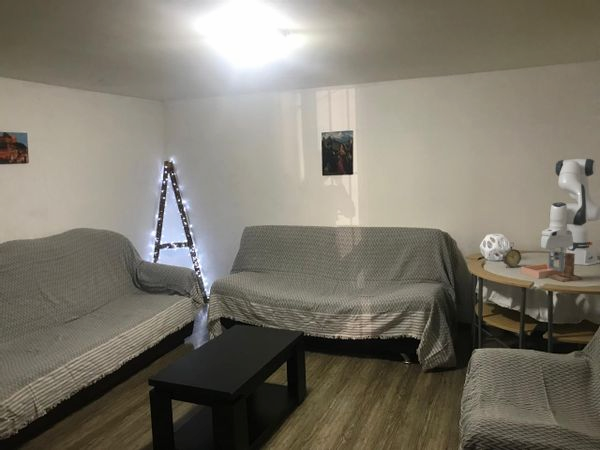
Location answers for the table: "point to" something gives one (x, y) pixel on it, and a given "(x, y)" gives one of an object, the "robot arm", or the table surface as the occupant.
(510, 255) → the alarm clock
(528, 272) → the dish
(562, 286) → the table surface
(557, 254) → the grey rectangular frame
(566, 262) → the stand
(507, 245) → the decorative ball
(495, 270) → the table surface
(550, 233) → the robot arm
